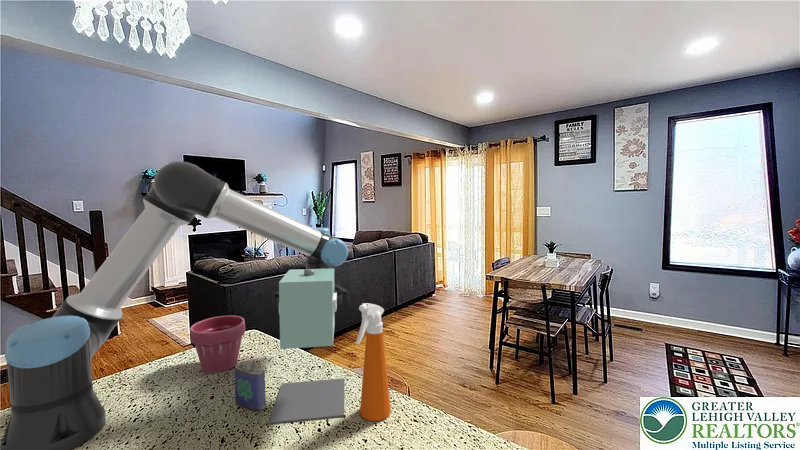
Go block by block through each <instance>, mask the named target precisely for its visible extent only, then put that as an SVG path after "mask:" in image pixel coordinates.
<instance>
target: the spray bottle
mask: <svg viewBox="0 0 800 450" xmlns="http://www.w3.org/2000/svg"><path fill="white" fill-rule="evenodd" d="M358 310H359V311H360V312H361V324H360V329H359V331H358V335H357V338H356V341H355V344H356V345H359V344H360V343H361V342H362V339H363V338H364V336H365V350H364V361H363V372H362V373H363V374H362V382H361V383H362V384H361V397H360V407H359V414H360V416H361V417H362V418H363V419H365V420H366V421H369V422H370V421H371V422H380V421H383V420H385V419H386V418H388V417H389V416H390V414H391V412H392V409H391V399H390V398H391V397H390V388H389V380H388V378H389V377H388V371H387V370H388V369H387V368H388V367H387V359H386V349H385V340H384V330H383V327H384V326H383V325H384V323H383V321H382V315H383V314H384V312H385V309H384V308H383V306H380V305H377V304H376V303H375V304H374V303H367V302H365V303H364V302H362V303H361V305H359V307H358ZM365 333H366V335H365Z"/></svg>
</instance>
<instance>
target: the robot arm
mask: <svg viewBox="0 0 800 450" xmlns="http://www.w3.org/2000/svg"><path fill="white" fill-rule="evenodd" d="M142 201H143V204H144V209H143V210H142V212H141V213H140V214H139V216H138V217H137V218H136V219H135V221H134V222H133V224H132V225H130V228H128V230H127V231H126V233H125V234H124V235H123V237H122V238H121V239H120V241H119V242H118V243H117V245H116V246H115V247H114V249H113V250H112V251H111V252H110V254H109V255H108V256H107V258H106V259H105V260H104V262H103V263H102V264H101V265H100V266H99V268H98V269H97V271H96V272H95V273H94V274H93V276H92V277H91V278H90V280H89V281H88V282H87V284H86V285H85V286H84V287H83V289H82V290H81V292H78V293H75V294H72V295H69V296H67V297H66V299H65V300H64V301H63V302H62V303H61V305H60V306H59V307H58V309H57V310H56V312H54V313H53V315H52V317H48V318H44V319H40V320H37V321H34V322H33V323H28V324H25V325H23V326H21V327H19V328H17V329H16V330H14V331H13V332H12V333H11V334H10V335H9V336H8V338H7V340H6V344H5V345H6V347H5V352H4V353H5V354H4V358H5V361H6V369H7V378H8V390H9V401H10V402H9V403H10V411H11V413H10V416H9V418H8V422H7V425H6V428H5V430H4V433H3V437H2V439H1V442H0V450H73V449H74V448H76V447H78V446H80V445H83V444H84V443H86V442H87V441H89V440H91V439H92V438H93V437H94V436H96V435H97V434H98V433H100V431H101V430H102V429H103V428H104V426H105V425H106V422H107V417H106V416H107V415H106V409H105V407H104V405H102V403H101V400H100V399H99V397H98V396H97V393H96V392H95V389H94V388H93V387H94V386H93V385H94V384H93V369H92V359H93V357H94V356H95V355H96V354H97V352H98V351H99V350H100V348H101V346H103V345H104V343H105V342H106V341H107V339H109V336H110V335H111V333H112V331H114V329H115V327H116V326H117V325H118V323H119V321H120V320H121V319H122V317H123V312H122V306H123V305H124V303H125V302H126V300H127V299H128V297H129V296H130V295H131V293H133V291H134V289H135V288H136V286H137V285H138V284H139V283H140V281H141V280H142V278H143V277H144V276H145V274H146V273H147V272H148V271H149V269H150V267H151V266H152V264H154V262H155V260H156V259H157V258H158V257H159V255H160V254H161V252H162V251H163V250H164V249H165V247H166V245H167V244H168V243H169V241H170V240H171V239H172V237H173V236H174V234H175V233H176V232H177V230H178V229H179V228H180V227H181V226H185V225H190V223H191V222H192V221H193V219H194V218H195V216H201V217H203V218H205V219H207V220H209V219H211V218H216V219H218V220H221V221H224V222H225V223H226V222H227V223H228V224H231V225H233V226H235V227H238V228H241V229H243V230H246V231H248V232H250V233H253V234H255V235H257V236H259V237H262V238H264V239H267V240H269V241H270V242H274V243H275V244H278V245H281V246H283V247H286V248H288V249H290V250H293V251H296V252H298V253H301V254H303V255H305V258H306V259H305V269H331V267H338V266H341V265H342V264H344V263H345V262H346V260H347V259H348V256H349V248H348V245H347V244H346V243H345V241H343V240H341V239H339V238H338V237H337V238H336V237H334V236H331V231H330V228H328V227H312V226H310V225H307V224H306V223H303V222H301V221H299V220H296V219H294V218H293V217H290V216H288V215H286V214H284V213H282V212H280V211H278V210H276V209H273V208H271V207H269V206H267V205H265V204H263V203H260V202H258V201H256V200H254V199H253V198H249V197H247V196H245V195H243V194H241V193H238V192H237V191H235V190H233V189H231V188H230V187H229V184H228V183H227V182H225V181H223V180H222V179H219V178H217V177H215V176H214V175H212V174H210V173H209V172H207V171H205V170H204V169H202V168H201V167H199V166H198V165H196V164H193V163H191V162H189V161H173V162H169V163H167V164H165V165H164V166H162V167H161V168H160V169H159V170H158V171H157V172H156V174H155V177H154V178H153V186H152V187H151V188H150V190H149V191H148V192H147V193H146V194H145V197H143V198H142ZM271 297H272V299H271V300H272V302H271V303H272V305H276V308H279V290H278V291H276V292H274V293H272V295H271ZM342 301H343V302H346V303H347V302H350V291H349V290H347V289H346V288H344V287H343V286H341V285H340V283H334V296H333V312H335V313H336V312H337V309H338V305H342V304H343V303H342ZM278 315H280V311H279V310H278Z"/></svg>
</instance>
